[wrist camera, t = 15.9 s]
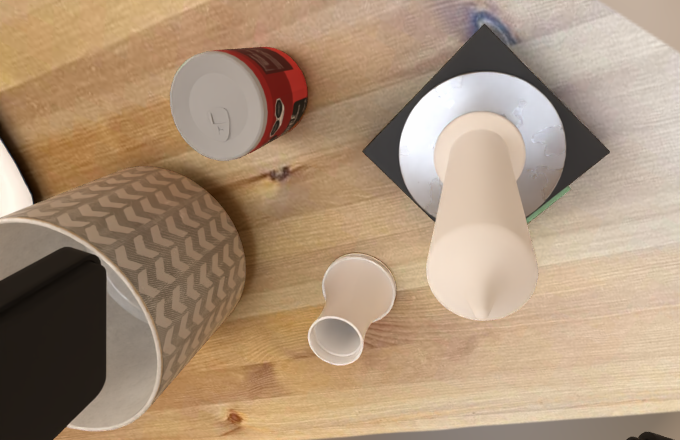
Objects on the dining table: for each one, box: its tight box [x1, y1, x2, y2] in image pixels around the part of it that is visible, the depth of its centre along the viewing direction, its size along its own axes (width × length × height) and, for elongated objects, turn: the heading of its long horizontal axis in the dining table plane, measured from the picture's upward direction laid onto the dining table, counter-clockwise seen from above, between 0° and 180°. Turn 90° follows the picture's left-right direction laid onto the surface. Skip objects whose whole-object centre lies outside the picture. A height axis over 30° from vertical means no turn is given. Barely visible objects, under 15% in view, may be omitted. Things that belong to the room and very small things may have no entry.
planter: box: [0, 166, 246, 431], centre depth 47 cm, size 19×19×18 cm
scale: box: [363, 24, 610, 223], centre depth 42 cm, size 14×14×4 cm
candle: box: [426, 111, 538, 321], centre depth 29 cm, size 7×7×25 cm
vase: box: [308, 253, 396, 365], centre depth 47 cm, size 8×8×10 cm
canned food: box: [170, 47, 308, 161], centre depth 42 cm, size 8×8×11 cm
